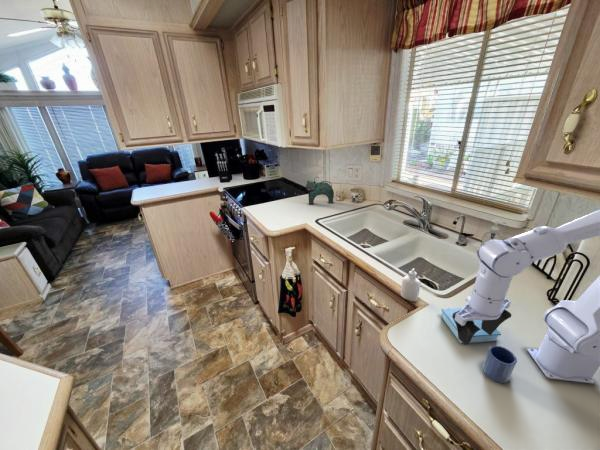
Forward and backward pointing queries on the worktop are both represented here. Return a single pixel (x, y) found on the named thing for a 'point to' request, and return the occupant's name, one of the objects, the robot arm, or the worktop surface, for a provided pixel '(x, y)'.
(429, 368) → the worktop surface
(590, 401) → the worktop surface
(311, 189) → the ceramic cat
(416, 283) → the eye dropper bottle
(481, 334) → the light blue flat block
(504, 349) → the cup
